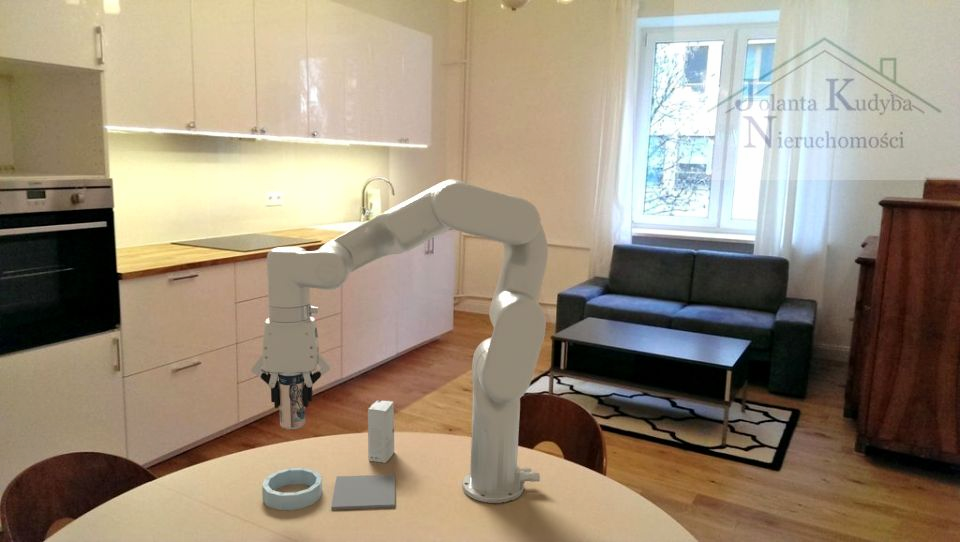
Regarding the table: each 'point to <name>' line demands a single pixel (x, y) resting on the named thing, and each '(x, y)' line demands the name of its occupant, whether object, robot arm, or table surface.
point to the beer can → (291, 400)
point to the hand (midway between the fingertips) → (292, 404)
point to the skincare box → (381, 431)
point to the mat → (364, 492)
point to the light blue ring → (292, 499)
